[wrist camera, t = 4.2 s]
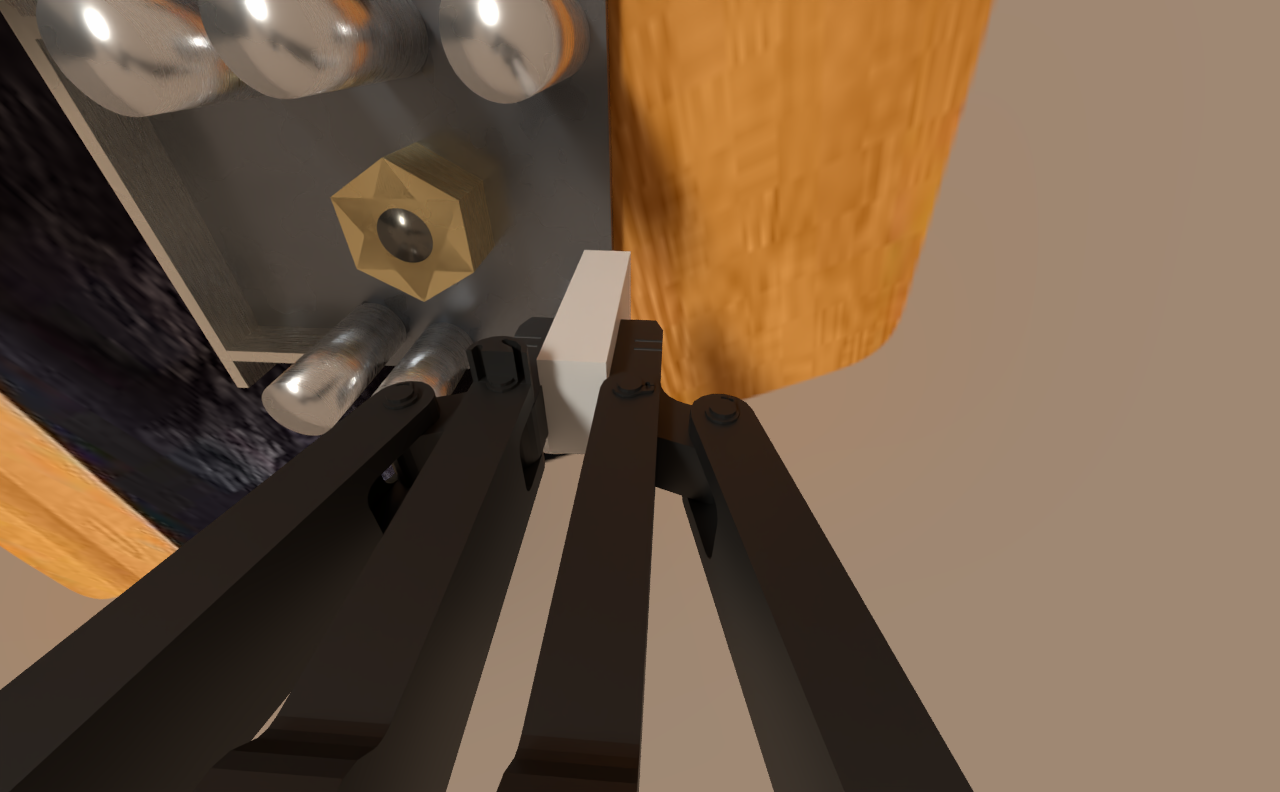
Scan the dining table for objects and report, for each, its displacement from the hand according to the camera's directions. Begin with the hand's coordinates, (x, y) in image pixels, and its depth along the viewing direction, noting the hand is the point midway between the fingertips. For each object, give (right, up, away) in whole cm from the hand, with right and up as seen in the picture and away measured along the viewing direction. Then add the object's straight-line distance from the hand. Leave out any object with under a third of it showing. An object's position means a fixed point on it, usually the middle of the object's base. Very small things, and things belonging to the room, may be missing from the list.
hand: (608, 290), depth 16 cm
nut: (-8, +5, +5) cm, 11 cm away
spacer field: (-10, +5, +6) cm, 13 cm away
